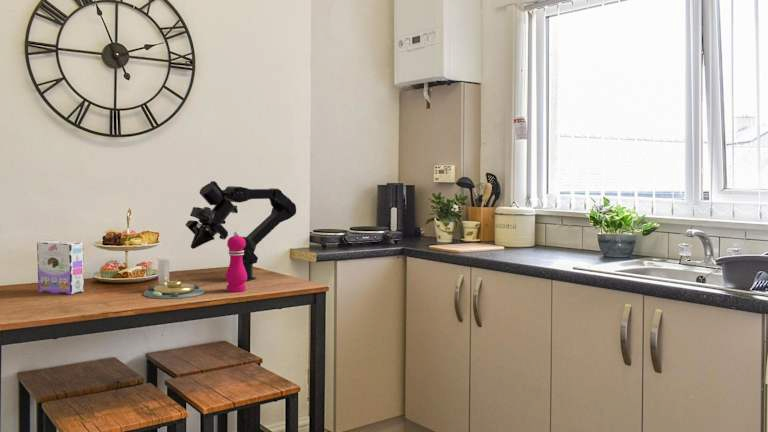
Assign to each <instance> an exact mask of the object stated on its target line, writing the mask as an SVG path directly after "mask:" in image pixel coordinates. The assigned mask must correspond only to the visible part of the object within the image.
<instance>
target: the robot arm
mask: <svg viewBox="0 0 768 432" xmlns="http://www.w3.org/2000/svg"><path fill="white" fill-rule="evenodd" d="M199 194H200V196H201V197H202V198H203V199H204V200H205V201H206V203H208V205H210V206H213V208H210V207H209V206H204V207H203V208H202V207H197V206H196V207H195V206H193V207H192V209H191V212H190V215H189V216H191V218H195V219H197V220H198V221H197V220H194V219H193V220H192V219H190V220H188V221H187V222H186V223H185V227H186V228H188V230H189V231H190V232H192V234H193V239H192V241H191V245H190V248H191V249H192V250H194V249H196V248H198V247H200V246H202V245H205V244H206V243H209V242H211V241H215V239H216V238H215V236H216V235H218V234H219V239H220V240H226V239H227V238H228V236H229V232H228V230H227V229H226V228H225V227H224V225H225V224H226V223H227V221H225V220H226V219H227V218H228V216H229V215H230V214H231V213H232V214H238V205H234V204H233V203H243V202H244V203H245V202H247V201H250V200H268V199H269V203H270V206H271V207H272V208H271V212H270V214H269V215H268V216H267V217H266V218H265V219H264V220H263V221H262V222H260V224H259V225H258V226H256V227H255V228H254V229H253V230H252V231H251V232H250V233H249V234H248V235H246V236H242V237H243V238H244V240H245V242H246V245H245V247H244V249H243V250H244V255H243V258H242V259H243V265H244V268H245V270H246V273H247V280H246V282H247V281H251V280H255V279H257V276H254V275H253V274H254V264H257V263H258V259H259V257H258V256H257V255H256V253H255V251H256V248H257V245H258V244H259V243H261V241H262V240H263V239H265V237H267V236H268V235H269V234H270V233H271V232H272V231H273V230H274V229H275V228H276V227H277V226H278V225H279V224H280V223H282V222H284V221H287V220H289V219H291V218H293V217H294V216H295V215H296V214H297V206H296V203H294V202H293V201H292V200H291V199H290V198H289V197H288V196H287V195H285V193H283V192H282V190H281V189H279V188H273V187H270V188H254V189H253V188H247V187H242V186H233V185H229V186H226V187H225V188H224V189H222V188H221V187H220V185H218V183H217V182H216V181H215V180H212V181H210V182H209V183H207V184H206V185H203V186H202V187H201V188H200V190H199ZM229 250H230V249H229V248H228V251H229Z"/></svg>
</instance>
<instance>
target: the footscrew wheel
mask: <svg viewBox="0 0 768 432" xmlns="http://www.w3.org/2000/svg"><path fill="white" fill-rule="evenodd" d="M157 262H158V273H157V274H158V279H157V280H158V281H157V282H158V284H159V285H155V287H154V291H156V292H160V293H161V294H171V293H172V292H178V294H182V293H188V292H192V291H194V285H195V284H191V283H182V281H181V280H170V260H169V259H166V258H159V259H158V261H157Z"/></svg>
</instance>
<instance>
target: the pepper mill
mask: <svg viewBox="0 0 768 432" xmlns="http://www.w3.org/2000/svg"><path fill="white" fill-rule="evenodd" d="M243 237H244V236H240V232H239V231H237V230H235V231H234V232H233V236H230V237H229V238H228V240H227V243H226V245H227V248H228V255H229V257H230V258H229V265H228V268H227V270H226V272H225V279H224V280H225V281H226V283H228V284H227V285H226V291H227V292H229V293H242V292H245V291H246V290H247V288H246V287H247V285H246V284H245V283H246V282H247V281H246V280H247V273H246V270H245V268H244V265H243V259H242V258H243V255H244V250H243V249H244V247H245V245H246V242H245V240H244V238H243ZM229 249H230V250H229Z"/></svg>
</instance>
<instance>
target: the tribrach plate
mask: <svg viewBox="0 0 768 432" xmlns="http://www.w3.org/2000/svg"><path fill="white" fill-rule="evenodd" d="M193 285H194V291H192V292H188V293H182V294H178V292H172V293H171V294H161V293H160V292H156V291H154V287H155V286H156V285H155V286H154V285H150V286H148V289H146V290H144V292H143V294H144V295H143V296H144V297H146V296H147V298H149V297H150V299H157V298H159V300H164V299H165V300H168V299H169V300H177V299H187V298H188V299H189V298H193V297H195V298H196V297H198V296H202V295H204V294H205V289H203V288H201V287H200V284H193Z"/></svg>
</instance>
